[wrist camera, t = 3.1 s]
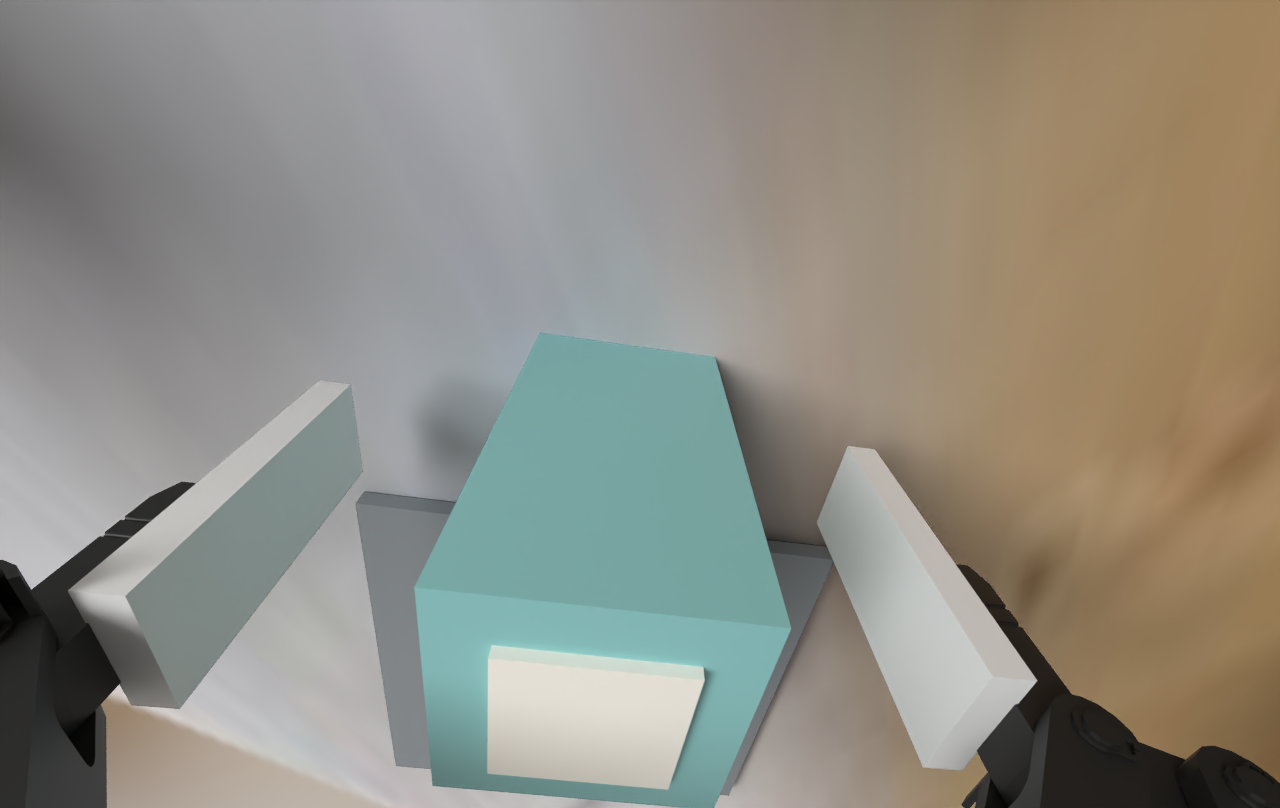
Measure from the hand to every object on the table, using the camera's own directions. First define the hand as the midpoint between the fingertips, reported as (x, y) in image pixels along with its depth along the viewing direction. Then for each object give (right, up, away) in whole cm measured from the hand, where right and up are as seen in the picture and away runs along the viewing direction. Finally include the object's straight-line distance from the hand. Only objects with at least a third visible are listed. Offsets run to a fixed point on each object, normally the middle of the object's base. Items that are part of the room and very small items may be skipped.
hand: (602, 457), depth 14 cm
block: (0, +1, +2) cm, 2 cm away
